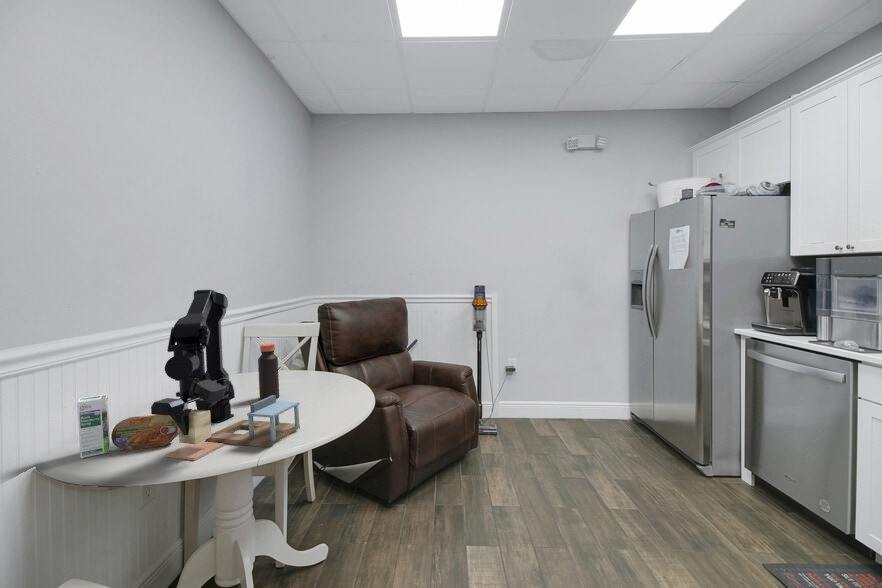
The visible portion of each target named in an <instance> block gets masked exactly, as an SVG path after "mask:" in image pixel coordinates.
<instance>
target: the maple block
mask: <svg viewBox="0 0 882 588" xmlns="http://www.w3.org/2000/svg"><path fill="white" fill-rule="evenodd" d="M211 434H212V422H211V417H210V410H200V409H197V408H194V409H192V411H191V412H190V414H189V432H188V435H183V433H182V432H181V430H180V429H179V432H178V440H179V441H178V442H179V443H180V444H186V445H189V444H197V443H199V442H201V441H203V442H205V441H206V439H208V438H210V437H211Z"/></svg>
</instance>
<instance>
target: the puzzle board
mask: <svg viewBox="0 0 882 588" xmlns="http://www.w3.org/2000/svg"><path fill="white" fill-rule="evenodd" d="M253 422H254V438H253V439H249V431H247V432H246V433H235V431H236V432H237V430H238V431H239V429H240V430H241V428H243V429H242V430H249V421H248V419H241V420H238V421H237V422H235V423H232V424H230V425H229V426H226V427H224V428H221V429H219V430H218V431H215V432H213V433H211V437H210V438H208V439H206V440H205V442H208V441H210V442H213V443H218V442H222V443H223V444H228V443H231V444H230V445H238V444H240V446H250V447H261V448H269V447H271V446H273V445H275V444H276V443H278V442H279V441H281V440H283V439H284V438H286V437H287V435H288V436H289V435H291V434H293V433H294V432H296V431H298V430H299V429H301V425H300V424H301V423H299V426H298V427H295V423H292V422H291V423H289V422H280V421H279V425H275V432H276V440H275V441H271V430H270V421H268V420H267V421H266V420H254V419H253ZM298 428H299V429H298ZM297 429H298V430H297ZM295 430H296V431H295ZM233 432H234V433H233ZM292 432H293V433H292ZM290 433H291V434H290ZM285 436H286V437H285ZM282 438H283V439H282ZM280 439H281V440H280Z"/></svg>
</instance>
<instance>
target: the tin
mask: <svg viewBox="0 0 882 588" xmlns="http://www.w3.org/2000/svg"><path fill="white" fill-rule="evenodd" d="M178 435H179V427H178V426H177V424H176V423H175V421H174V420H173V419H172V418H171V416H170V415H169V416H167V415H155V414H147V415H138V416H132V417H128V418H125V419H123V420H120V421H119V422H118V423H117V424H115V426H114V427H113V429H112V431H111V436H110V437H111V438H110V439H111V442H112V444H113V445H114V446H115V447H116V448H118V449H119V450H121V451H125V452H126V451H129V452H130V451H136V450H144V449H151V448H159V447H165V446H166V445H169V444H170V443H172V441H174V439H175V438H177V436H178Z"/></svg>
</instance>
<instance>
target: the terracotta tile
mask: <svg viewBox="0 0 882 588" xmlns="http://www.w3.org/2000/svg"><path fill="white" fill-rule="evenodd" d="M224 446H225V443H218V442H208V441H201V442H199V443H197V444H186V445H184V446H182V447H180V448H178V449H176V450H174V451H172V452H169V453H167V454H166V455H165V457H166V458H168V457H170V459H177V458H178V460H185V459H187V460H186V461H194V460H195V461H197V460H199V459H201V458H203V457H205V456H207V455H209V454H211V453H213V452H214V450H215V451H217V450H219V449H221V448H222V447H224ZM220 447H221V448H220ZM218 448H219V449H218ZM216 449H217V450H216ZM212 451H213V452H212ZM210 452H211V453H210Z"/></svg>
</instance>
